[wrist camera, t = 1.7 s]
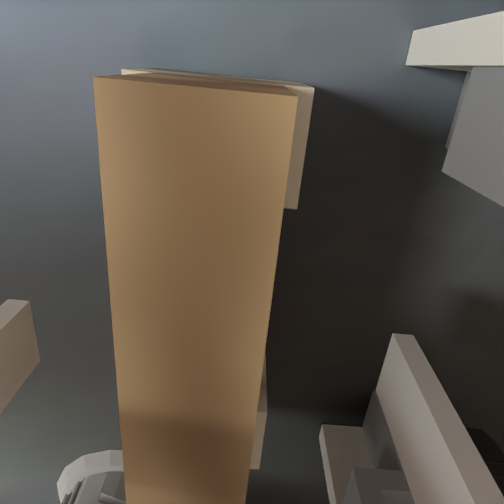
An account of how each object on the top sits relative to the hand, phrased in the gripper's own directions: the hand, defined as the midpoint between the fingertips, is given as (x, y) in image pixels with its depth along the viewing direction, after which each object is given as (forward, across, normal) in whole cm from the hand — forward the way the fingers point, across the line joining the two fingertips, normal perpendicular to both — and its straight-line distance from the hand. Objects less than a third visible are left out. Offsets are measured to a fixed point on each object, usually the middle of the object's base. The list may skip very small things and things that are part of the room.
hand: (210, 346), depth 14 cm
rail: (+2, 0, 0) cm, 2 cm away
